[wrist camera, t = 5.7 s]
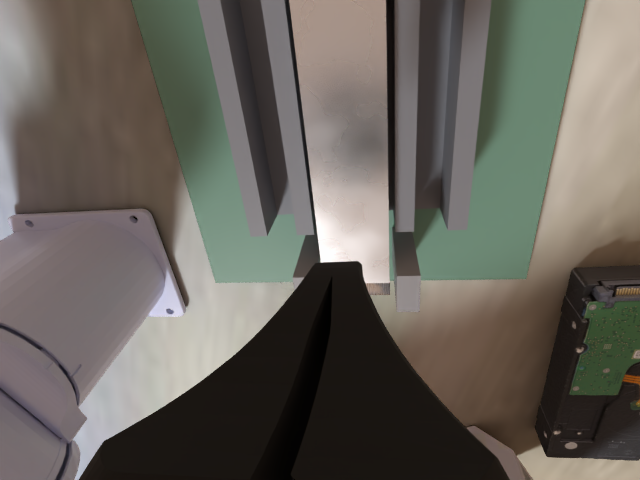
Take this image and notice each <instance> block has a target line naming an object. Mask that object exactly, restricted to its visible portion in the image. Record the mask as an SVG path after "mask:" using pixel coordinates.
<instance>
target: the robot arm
mask: <svg viewBox="0 0 640 480" xmlns="http://www.w3.org/2000/svg"><path fill="white" fill-rule="evenodd" d="M133 216H135V217H137V219H138V220H136V219H135V218H134V217H133ZM8 223H9V225H10V227H11V229H12V231H13V232H14V233H13V234H11V235H9V236H8V237H6V238H4V239H3V240H1V241H0V480H74V479H75V476H76V474H77V471H78V466H79V462H80V450H79V447H78V445H77V444H76V442H75V441H74V440H72V439H73V438H74V437H75V435H76V434H77V432H78V431H79V430H80V428H81V427H82V425H83V424H84V423H85V421H86V420H87V417H86V416H85V415H84V414H83V413H82V412H81V411H80V409H79V408H78V407H79V406H80V405H81V404H82V402H83V401H84V400H85V398H86V397H87V396H88V394H89V393H90V392H91V390H92V389H93V388H94V386H95V385H96V384H97V382H98V381H99V380H100V378H101V377H102V376H103V374H104V373H105V372H106V370H107V369H108V368H109V366H110V365H111V364H112V362H113V361H114V360H115V358H116V357H117V356H118V354H119V353H120V352H121V350H122V349H123V348H124V346H125V345H126V344H127V342H128V341H129V340H130V339H131V337H132V336H133V335H134V333H135V332H136V331H137V329H138V328H139V327H140V325H141V324H142V323H143V321H144V320H145V319H146V317H147V316H148V317H180V316H183V315H184V313H185V312H186V307H185V304H184V302H183V299H182V296H181V293H180V291H179V288H178V285H177V282H176V280H175V277H174V274H173V271H172V269H171V266H170V263H169V260H168V258H167V255H166V252H165V249H164V247H163V244H162V241H161V238H160V236H159V233H158V230H157V227H156V225H155V222H154V219H153V216H152V215H151V213H150V212H149V211H148V210H146V209H124V210H102V211H80V212H58V213H37V214H16V215H13V216H11V217H9V218H8ZM171 309H172V310H171ZM79 480H510V479H509V477H508V475H507V473H506V472H505V470H504V468H503V466H502V465H501V463H500V461H499V459H498V458H497V457H496V456H495V455H494V454H493V453H492V452H491V451H490V450H489V449H488V448H487V447H486V446H484V445H483V444H482V443H481V442H480V441H479V440H478V439H477V438H476V437H475V436H474V435H473V434H472V433H471V432H470V431H469V430H468V429H467V428H466V427H465V426H464V425H463V424H462V423H461V422H460V421H459V420H458V419H457V418H456V417H455V416H454V415H453V414H452V413H451V412H450V411H449V410H448V409H447V407H446V406H445V405H444V404H443V403H442V402H441V401H440V400H439V399H438V398H437V396H436V395H435V394H434V393H433V392H432V390H431V389H430V388H429V387H428V386H427V385H426V383H425V382H424V381H423V380H422V379H421V377H420V376H419V375H418V374H417V373H416V371H415V370H414V369H413V367H412V366H411V365H410V363H409V362H408V361H407V359H406V358H405V357H404V355H403V354H402V352H401V351H400V349H399V348H398V346H397V345H396V343H395V342H394V340H393V339H392V337H391V335H390V334H389V332H388V330H387V329H386V327H385V325H384V323H383V322H382V320H381V318H380V316H379V314H378V312H377V310H376V308H375V306H374V304H373V301H372V299H371V297H370V295H369V292H368V290H367V287H366V284H365V281H364V277H363V270H362V264H361V263H360V262H359V261H346V262H321V263H315V264H314V265H313V266H312V268H311V269H310V270H309V272H308V273H307V275H306V276H305V277H304V279H303V280H302V281H301V283H300V284H299V285H298V287H297V288H296V289H295V291H294V292H293V293H292V295H291V296H290V297H289V298H288V300H287V301H286V302H285V303H284V305H283V306H282V307H281V308H280V309H279V311H278V312H277V313H276V314H275V315H274V316H273V317H272V318H271V319H270V321H269V322H268V323H267V324H266V325H265V326H264V327H263V328H262V329H261V330H260V331H259V332H258V333H257V334H256V335H255V336H254V337H253V338H252V339H251V340H250V341H249V342H248V343H247V344H246V345H245V346H244V347H243V348H242V349H241V350H240V351H239V352H237V353H236V354H235V355H234V356H233V357H232V358H230V359H229V360H228V361H226V362H225V363H224V364H223V365H221V366H220V367H219V368H218V369H216V370H215V371H214V372H213V373H211V374H210V375H209V376H207V377H206V378H205V379H204V380H202V381H201V382H199V383H198V384H197V385H195V386H194V387H192V388H191V389H190V390H188V391H187V392H185V393H184V394H182V395H181V396H179V397H178V398H176V399H175V400H173V401H172V402H170V403H169V404H167V405H166V406H164V407H162V408H161V409H159V410H158V411H156V412H154V413H153V414H151V415H149V416H148V417H146V418H144V419H142V420H141V421H139V422H137V423H135V424H134V425H132V426H130V427H128V428H127V429H125V430H123V431H122V432H120V433H118V434H116V435H115V436H113V437H111V438H109V439H107V440H105V441H104V442H103V443H102V445H101V446H100V448H99V449H98V451H97V452H96V454H95V455H94V457H93V458H92V460H91V461H90V463H89V464H88V466H87V467H86V469H85V471H84V472H83V474H82V475H81V477H80V479H79Z"/></svg>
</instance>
